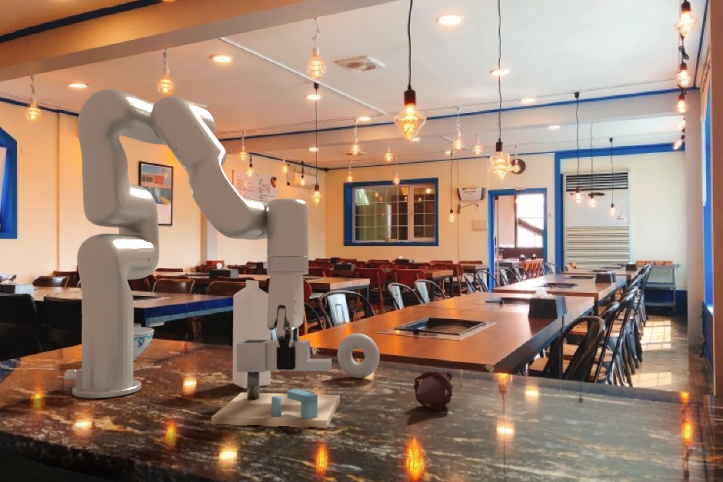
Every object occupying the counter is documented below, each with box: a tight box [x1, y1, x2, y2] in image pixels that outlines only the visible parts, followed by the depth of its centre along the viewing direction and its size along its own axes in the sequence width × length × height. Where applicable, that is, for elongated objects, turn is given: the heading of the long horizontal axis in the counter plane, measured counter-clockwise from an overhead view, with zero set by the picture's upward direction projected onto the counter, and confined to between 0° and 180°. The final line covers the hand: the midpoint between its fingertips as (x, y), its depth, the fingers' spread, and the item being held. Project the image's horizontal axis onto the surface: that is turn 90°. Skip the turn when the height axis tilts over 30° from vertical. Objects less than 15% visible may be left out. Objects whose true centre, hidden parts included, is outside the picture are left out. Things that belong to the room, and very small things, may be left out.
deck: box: [210, 392, 341, 429], centre depth 99 cm, size 19×16×1 cm
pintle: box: [246, 372, 260, 400], centre depth 104 cm, size 2×2×6 cm
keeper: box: [271, 388, 319, 419], centre depth 93 cm, size 6×5×5 cm
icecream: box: [413, 370, 454, 411], centre depth 102 cm, size 7×7×15 cm
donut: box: [336, 333, 381, 379], centre depth 126 cm, size 10×4×10 cm, turn 68°
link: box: [237, 339, 333, 372], centre depth 103 cm, size 17×5×5 cm, turn 85°
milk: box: [232, 279, 272, 389], centre depth 120 cm, size 6×6×22 cm
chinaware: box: [133, 326, 155, 362], centre depth 145 cm, size 15×15×8 cm
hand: (288, 366), depth 103 cm, fingers closed on link, 3 cm apart
